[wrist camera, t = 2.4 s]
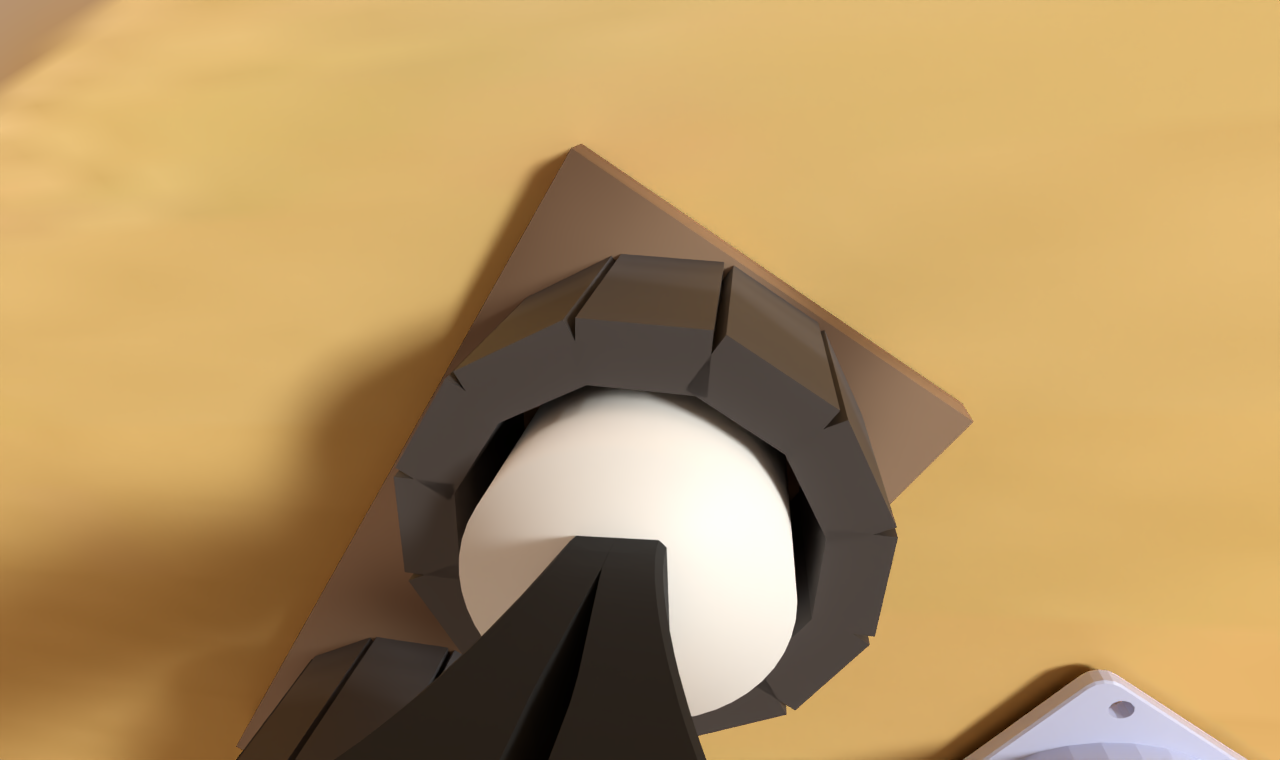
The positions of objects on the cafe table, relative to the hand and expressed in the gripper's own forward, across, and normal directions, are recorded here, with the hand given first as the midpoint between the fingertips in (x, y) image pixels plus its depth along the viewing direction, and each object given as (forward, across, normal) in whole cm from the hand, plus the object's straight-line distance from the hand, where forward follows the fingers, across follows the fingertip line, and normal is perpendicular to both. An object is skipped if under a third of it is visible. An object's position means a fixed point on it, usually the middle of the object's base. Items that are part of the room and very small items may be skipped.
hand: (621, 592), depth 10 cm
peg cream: (+3, 0, 0) cm, 3 cm away
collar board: (+5, +3, +5) cm, 8 cm away
